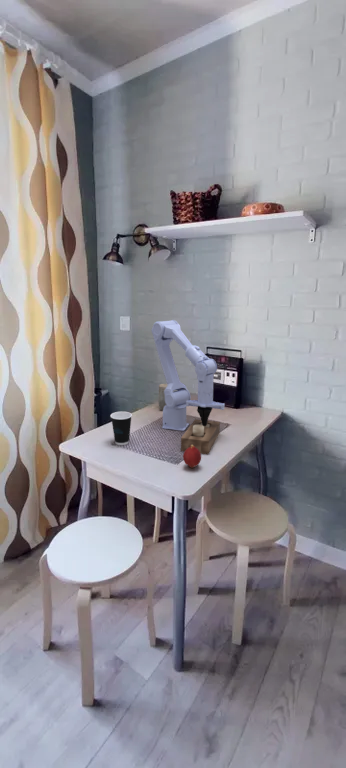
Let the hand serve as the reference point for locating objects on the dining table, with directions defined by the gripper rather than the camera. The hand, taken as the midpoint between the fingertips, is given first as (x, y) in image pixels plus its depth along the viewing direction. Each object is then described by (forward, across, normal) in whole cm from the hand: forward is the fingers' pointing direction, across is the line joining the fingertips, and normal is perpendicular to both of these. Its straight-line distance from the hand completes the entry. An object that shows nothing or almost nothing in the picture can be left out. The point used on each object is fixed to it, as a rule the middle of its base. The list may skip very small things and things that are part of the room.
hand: (204, 425), depth 150 cm
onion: (+5, +2, -26) cm, 27 cm away
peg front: (+1, 0, -10) cm, 10 cm away
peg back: (+4, 0, 0) cm, 4 cm away
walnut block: (+5, 0, -5) cm, 7 cm away
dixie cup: (+5, -28, -15) cm, 32 cm away
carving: (+5, -25, +27) cm, 37 cm away
